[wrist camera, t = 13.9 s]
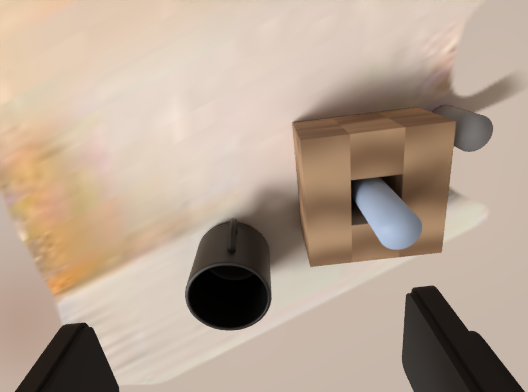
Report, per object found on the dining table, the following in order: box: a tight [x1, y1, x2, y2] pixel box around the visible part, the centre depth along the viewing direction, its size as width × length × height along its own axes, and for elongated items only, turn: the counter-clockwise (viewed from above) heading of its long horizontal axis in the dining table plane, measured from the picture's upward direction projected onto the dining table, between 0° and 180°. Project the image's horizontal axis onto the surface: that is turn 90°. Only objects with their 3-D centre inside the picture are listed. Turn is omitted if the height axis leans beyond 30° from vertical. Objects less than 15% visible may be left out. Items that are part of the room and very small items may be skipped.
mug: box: [185, 219, 271, 330], centre depth 40 cm, size 9×12×9 cm
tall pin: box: [351, 177, 422, 250], centre depth 34 cm, size 4×4×14 cm
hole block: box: [292, 107, 456, 267], centre depth 36 cm, size 14×14×8 cm
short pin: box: [432, 105, 493, 152], centre depth 35 cm, size 4×4×6 cm
